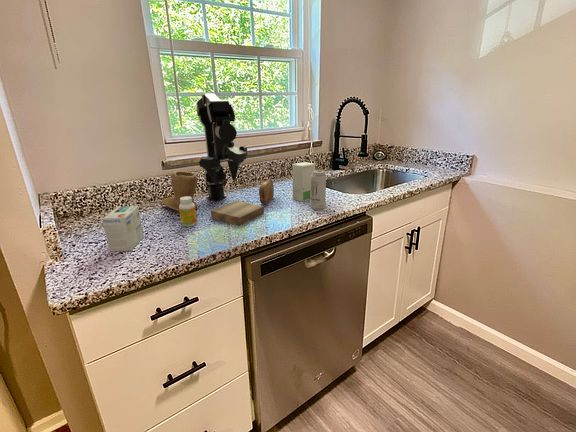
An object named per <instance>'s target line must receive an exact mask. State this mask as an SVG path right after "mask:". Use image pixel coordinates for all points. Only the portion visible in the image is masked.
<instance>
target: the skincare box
mask: <svg viewBox="0 0 576 432" xmlns="http://www.w3.org/2000/svg"><path fill="white" fill-rule="evenodd" d="M314 170H316V163H314V162H313V163H312V162H306V161H304V162H297V163H292V199H293V200H294V201H298V202H301V203H303V202H307V201H310V183H311V174H312V171H314Z"/></svg>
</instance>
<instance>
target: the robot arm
mask: <svg viewBox="0 0 576 432" xmlns="http://www.w3.org/2000/svg"><path fill="white" fill-rule="evenodd" d="M196 115H197V117H198V120H199V122H200V123H201V125H202V127H203V128H204V129H203V130H204V138H205V146H206V153H207V154H206V155H207V156H206V157H201V158H200V159H199V161H198V163H199V167H200V168H202V169H203V170H205V172H204V175H203V177H204V178H203V180H204V181H203V182H204V185H205V187H206V188H207V193H208V196H207V197H205V198H206V199H207V200H212V201H214V202H218V201H221V200H223V199H225V198H227V196H226V195H225V189H224V186H225V185H227V174H226V172H225V170H224V167H223V166H222V164H221V163H224V162H227V166H228V168H229V173H230V177H231V179H232V180H233V181H236V178H237V175H238V171H239V167H240V165H241V164H242V163H244V162H245V160H247V156H248V148H247V146H245V145H240V146H235V142H234V140H236V138H237V135H238V134H237V129H236V127H235V126H234V125H233V124H231V122H235V121H236V120H235V119H236V114H235V111H234V108H233V106H232V104H231V103H230V101H229V100H228V99H220V98H219V97H218V95H217V94H216V93H214V92H204V93H202V94H201V98H200V99H199V100H197V102H196Z"/></svg>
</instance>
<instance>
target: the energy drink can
mask: <svg viewBox="0 0 576 432" xmlns="http://www.w3.org/2000/svg"><path fill="white" fill-rule="evenodd" d="M326 190H327V174H326V173H325V170H322V169H315V170H314V171H312V174H311V183H310V200H309V206H310V208H311V209H312V210H314V211H321V210H324V209H325V207H326Z"/></svg>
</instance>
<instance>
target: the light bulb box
mask: <svg viewBox="0 0 576 432" xmlns="http://www.w3.org/2000/svg"><path fill="white" fill-rule="evenodd" d="M101 221H102V226H103V229H104V233H105V236H106V240H107V241H106V242H107V246H108V248H109V252H111V253H112V252H132V251H133V249H134V248H135V247H136V246H137V245H138V244H139V243H140V241H141V240H142V239H143V237H144V236H145V235H144V231H143V230H144V229H143V225H142V220H141V215H140V211H139V205H125V206H116V207H115V208H114V209H112V211H110V212H109V213H108V214H106V215H105V216H104V217H102V218H101Z"/></svg>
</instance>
